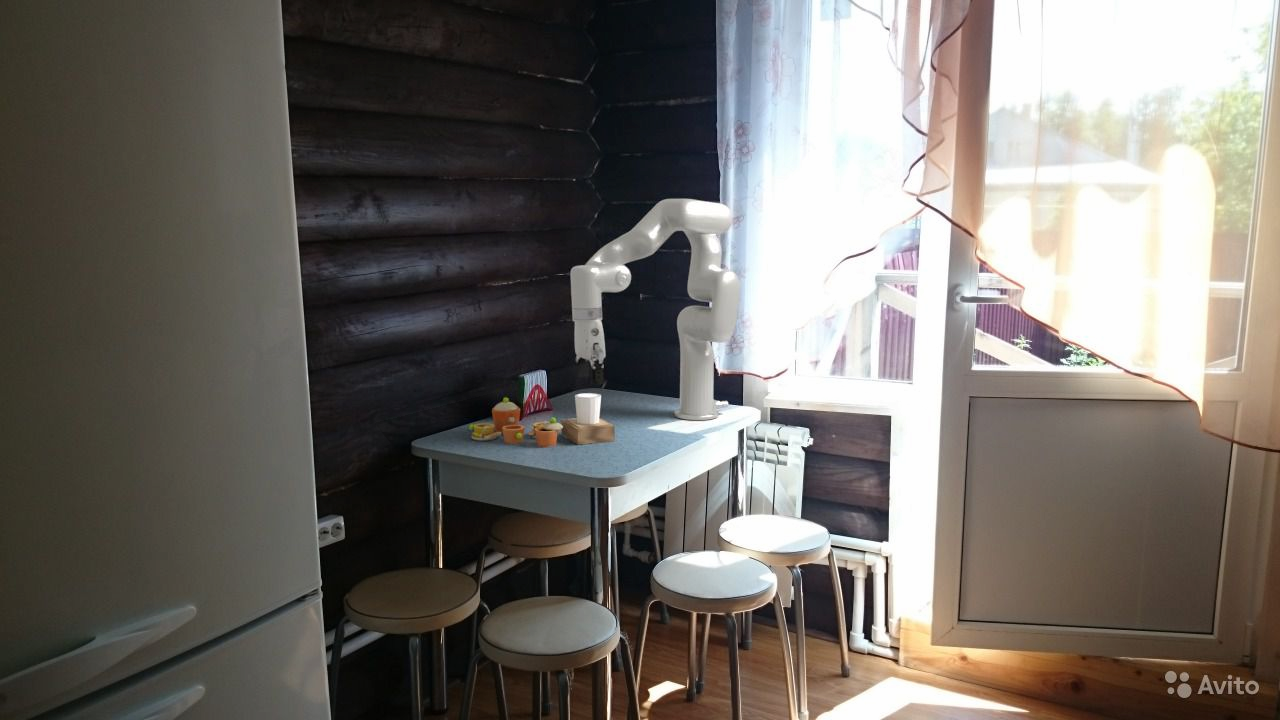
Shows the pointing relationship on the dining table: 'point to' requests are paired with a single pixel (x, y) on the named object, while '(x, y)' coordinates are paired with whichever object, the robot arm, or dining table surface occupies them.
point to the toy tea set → (515, 427)
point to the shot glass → (588, 408)
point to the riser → (588, 431)
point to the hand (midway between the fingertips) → (590, 380)
